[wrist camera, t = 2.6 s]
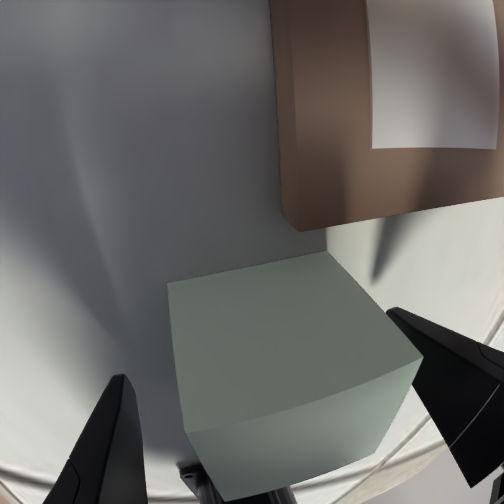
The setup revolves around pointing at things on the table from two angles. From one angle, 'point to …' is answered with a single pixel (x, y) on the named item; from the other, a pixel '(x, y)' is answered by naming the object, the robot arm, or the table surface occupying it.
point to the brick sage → (284, 371)
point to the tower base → (387, 106)
